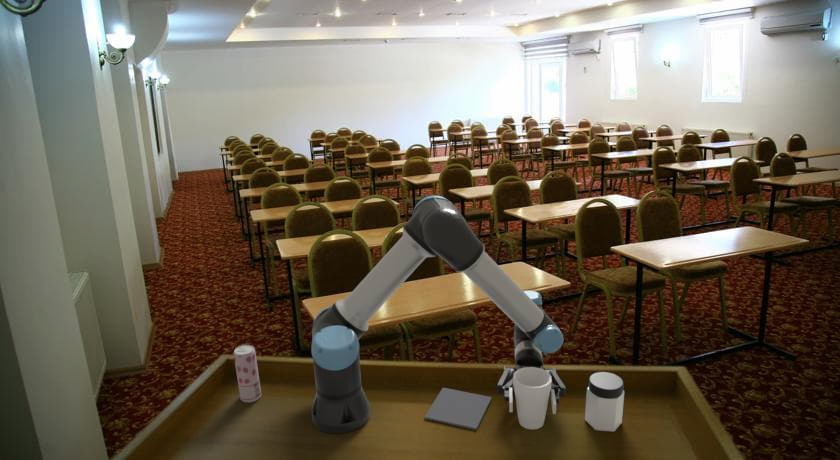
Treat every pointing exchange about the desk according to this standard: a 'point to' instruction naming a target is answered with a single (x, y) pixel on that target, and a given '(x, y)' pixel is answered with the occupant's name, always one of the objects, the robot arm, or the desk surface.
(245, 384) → the beverage can
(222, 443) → the desk surface
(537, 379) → the foam cup
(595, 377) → the jar
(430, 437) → the desk surface
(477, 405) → the charcoal mat
